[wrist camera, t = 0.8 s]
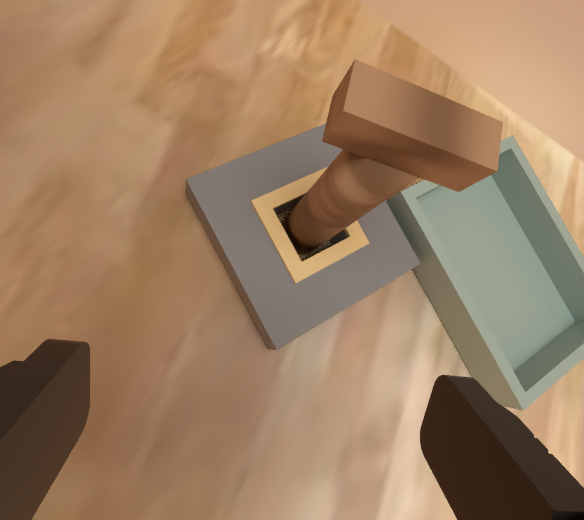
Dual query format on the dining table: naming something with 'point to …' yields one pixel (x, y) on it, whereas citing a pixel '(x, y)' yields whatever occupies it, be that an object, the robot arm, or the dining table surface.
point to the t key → (389, 151)
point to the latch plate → (277, 246)
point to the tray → (500, 276)
